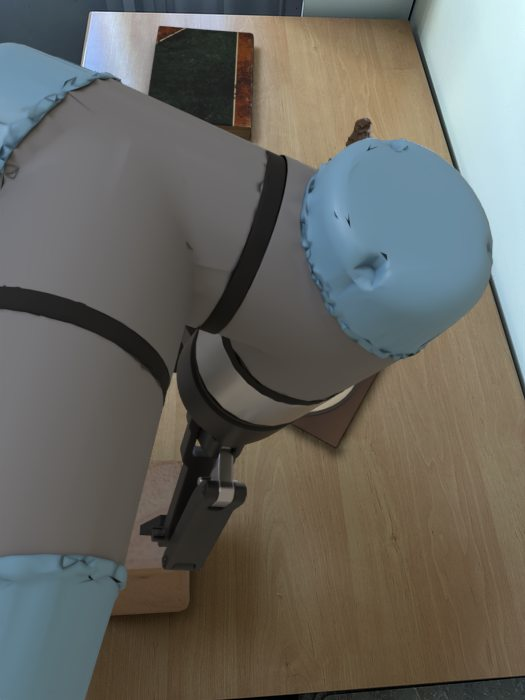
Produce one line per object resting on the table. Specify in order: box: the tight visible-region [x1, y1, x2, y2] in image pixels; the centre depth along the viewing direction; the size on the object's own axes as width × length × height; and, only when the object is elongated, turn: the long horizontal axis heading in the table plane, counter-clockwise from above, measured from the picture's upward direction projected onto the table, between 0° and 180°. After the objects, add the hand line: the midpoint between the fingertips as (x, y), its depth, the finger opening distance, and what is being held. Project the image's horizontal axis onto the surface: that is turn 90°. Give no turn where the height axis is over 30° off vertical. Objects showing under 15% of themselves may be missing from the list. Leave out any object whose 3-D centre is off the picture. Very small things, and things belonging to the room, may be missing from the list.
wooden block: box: [110, 459, 190, 617], centre depth 65 cm, size 10×10×20 cm
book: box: [147, 25, 255, 142], centre depth 114 cm, size 17×4×25 cm
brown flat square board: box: [290, 372, 379, 449], centre depth 89 cm, size 20×18×1 cm
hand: (162, 445), depth 54 cm, fingers open, 13 cm apart
